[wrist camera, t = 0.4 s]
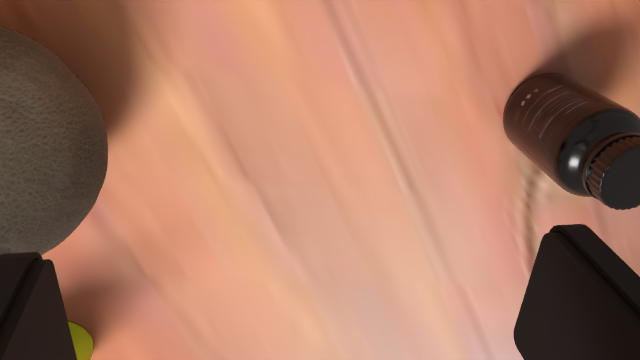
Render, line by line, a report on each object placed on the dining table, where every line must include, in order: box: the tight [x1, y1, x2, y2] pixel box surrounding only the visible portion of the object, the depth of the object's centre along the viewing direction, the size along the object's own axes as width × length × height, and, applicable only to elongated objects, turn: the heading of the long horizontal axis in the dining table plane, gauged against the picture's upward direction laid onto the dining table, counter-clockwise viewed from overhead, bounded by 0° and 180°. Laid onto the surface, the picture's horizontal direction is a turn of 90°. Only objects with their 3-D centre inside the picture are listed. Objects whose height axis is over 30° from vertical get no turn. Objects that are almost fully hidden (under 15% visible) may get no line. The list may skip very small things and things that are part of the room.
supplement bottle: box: [503, 73, 640, 210], centre depth 39 cm, size 7×7×12 cm
